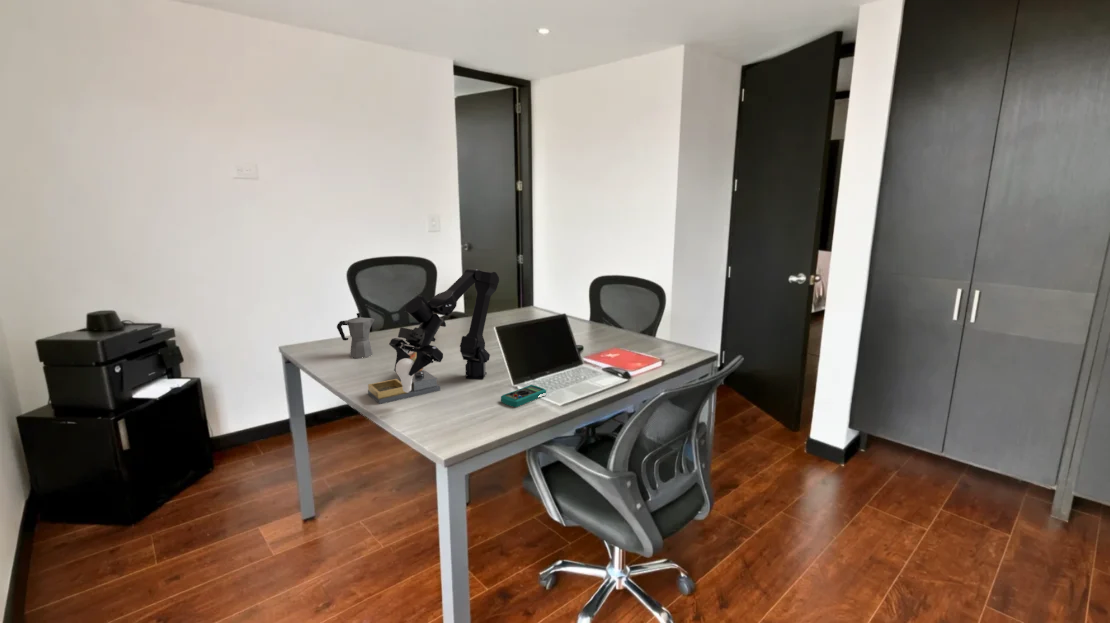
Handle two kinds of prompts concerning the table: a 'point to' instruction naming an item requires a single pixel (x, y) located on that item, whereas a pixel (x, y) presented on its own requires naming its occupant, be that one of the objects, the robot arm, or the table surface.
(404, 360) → the lightbulb
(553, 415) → the table surface
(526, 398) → the digital multimeter
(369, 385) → the grey base with tray
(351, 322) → the coffeepot
